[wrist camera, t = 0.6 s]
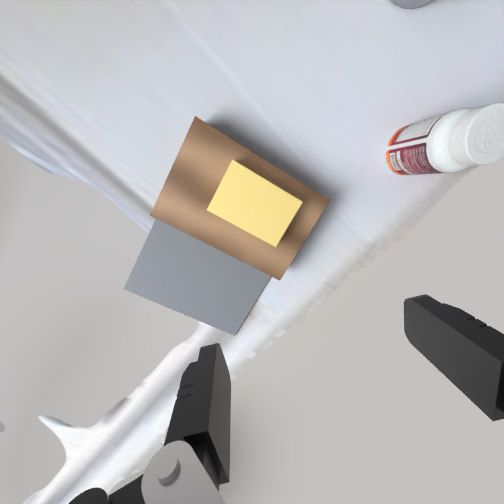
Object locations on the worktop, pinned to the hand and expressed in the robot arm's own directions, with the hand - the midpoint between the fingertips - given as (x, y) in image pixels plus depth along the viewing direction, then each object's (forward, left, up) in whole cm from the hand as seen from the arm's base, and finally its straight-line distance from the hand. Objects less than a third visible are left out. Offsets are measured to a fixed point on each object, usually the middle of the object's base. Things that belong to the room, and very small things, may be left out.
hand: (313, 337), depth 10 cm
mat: (+10, -3, -24) cm, 26 cm away
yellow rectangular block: (-3, -2, -20) cm, 20 cm away
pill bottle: (-19, +13, -24) cm, 33 cm away
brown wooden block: (-2, -3, -24) cm, 24 cm away
